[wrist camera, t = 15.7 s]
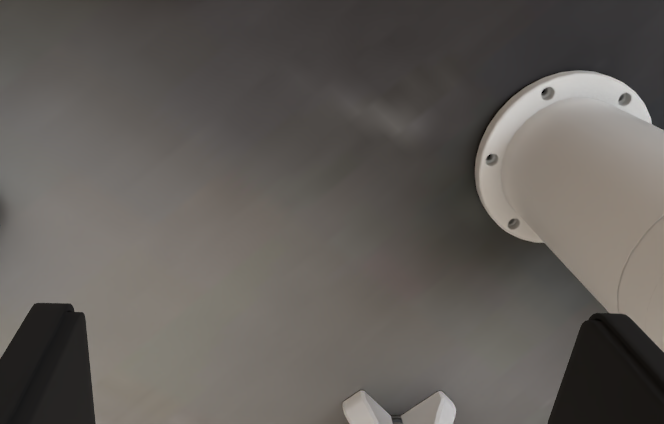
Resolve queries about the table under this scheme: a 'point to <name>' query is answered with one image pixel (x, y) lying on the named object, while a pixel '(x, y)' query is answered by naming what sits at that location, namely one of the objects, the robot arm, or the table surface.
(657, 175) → the robot arm
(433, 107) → the table surface
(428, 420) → the grey tall piece
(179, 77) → the table surface
